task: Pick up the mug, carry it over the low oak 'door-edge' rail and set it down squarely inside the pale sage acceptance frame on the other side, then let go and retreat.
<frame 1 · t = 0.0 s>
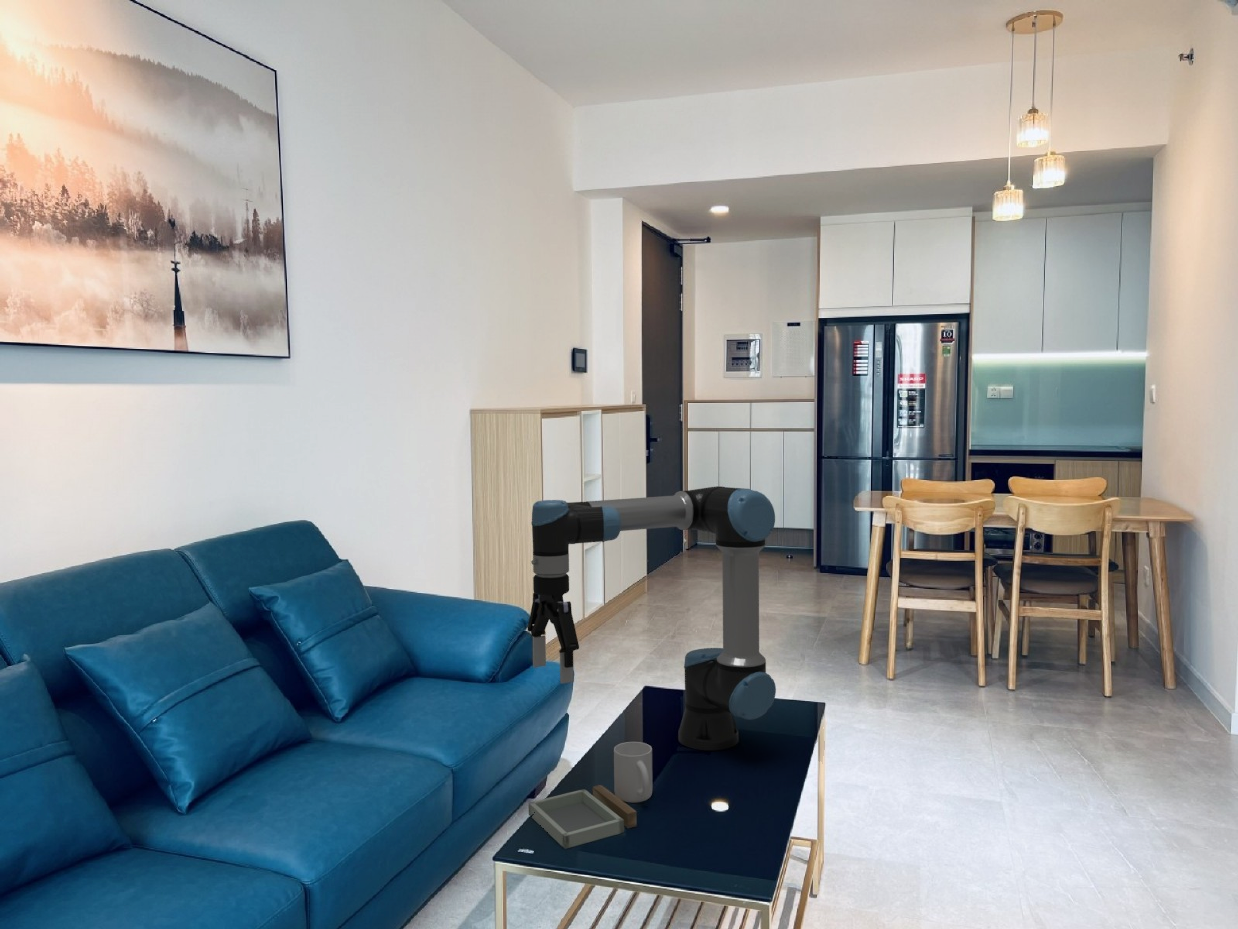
hand: (552, 674, 185), 28 cm above the table, fingers open, 13 cm apart
edge rail: (614, 813, 182), on the table
acceptance frame: (575, 823, 177), on the table
mug: (636, 799, 188), on the table
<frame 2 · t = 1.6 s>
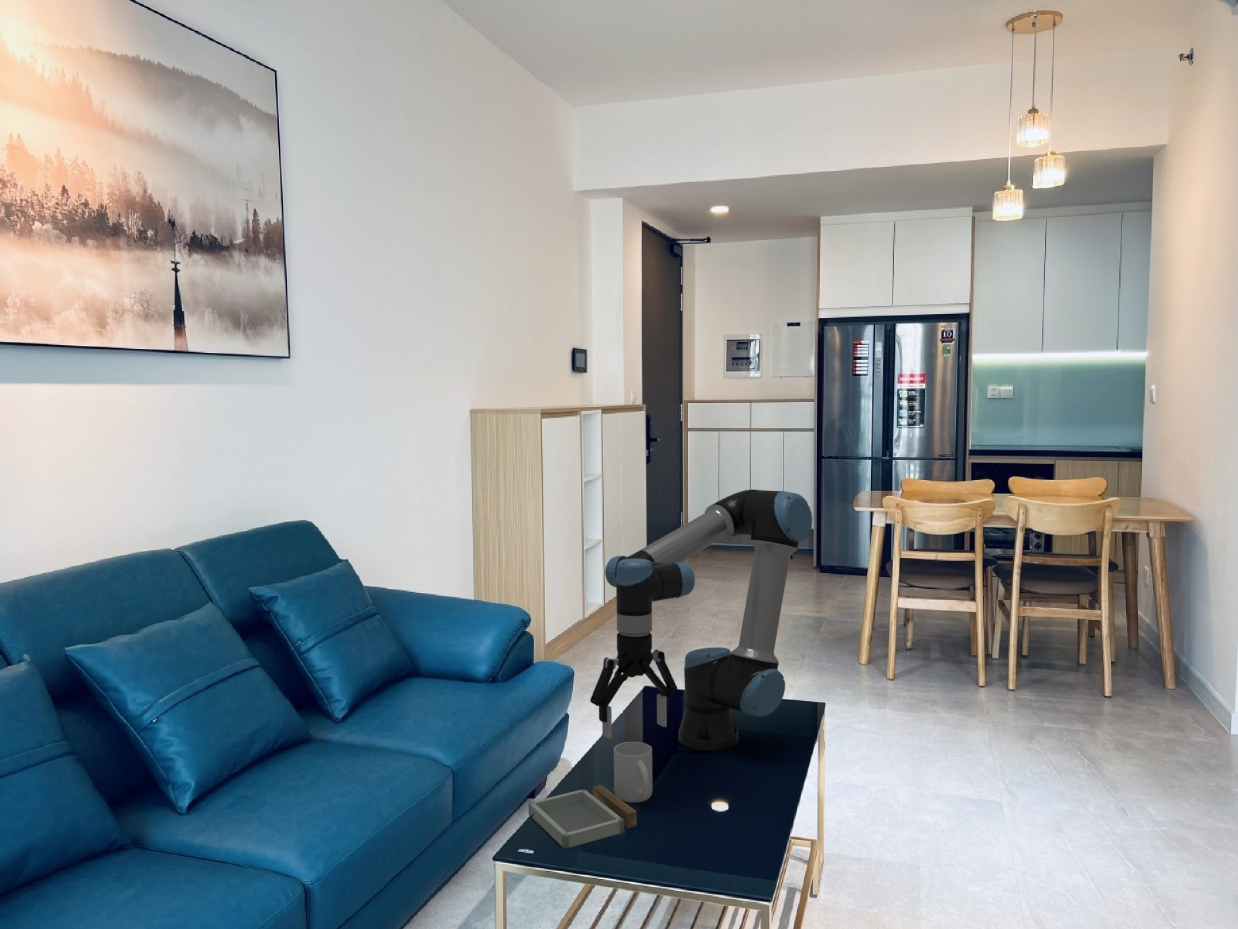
hand: (634, 730, 187), 15 cm above the table, fingers open, 13 cm apart
nothing on the table moved.
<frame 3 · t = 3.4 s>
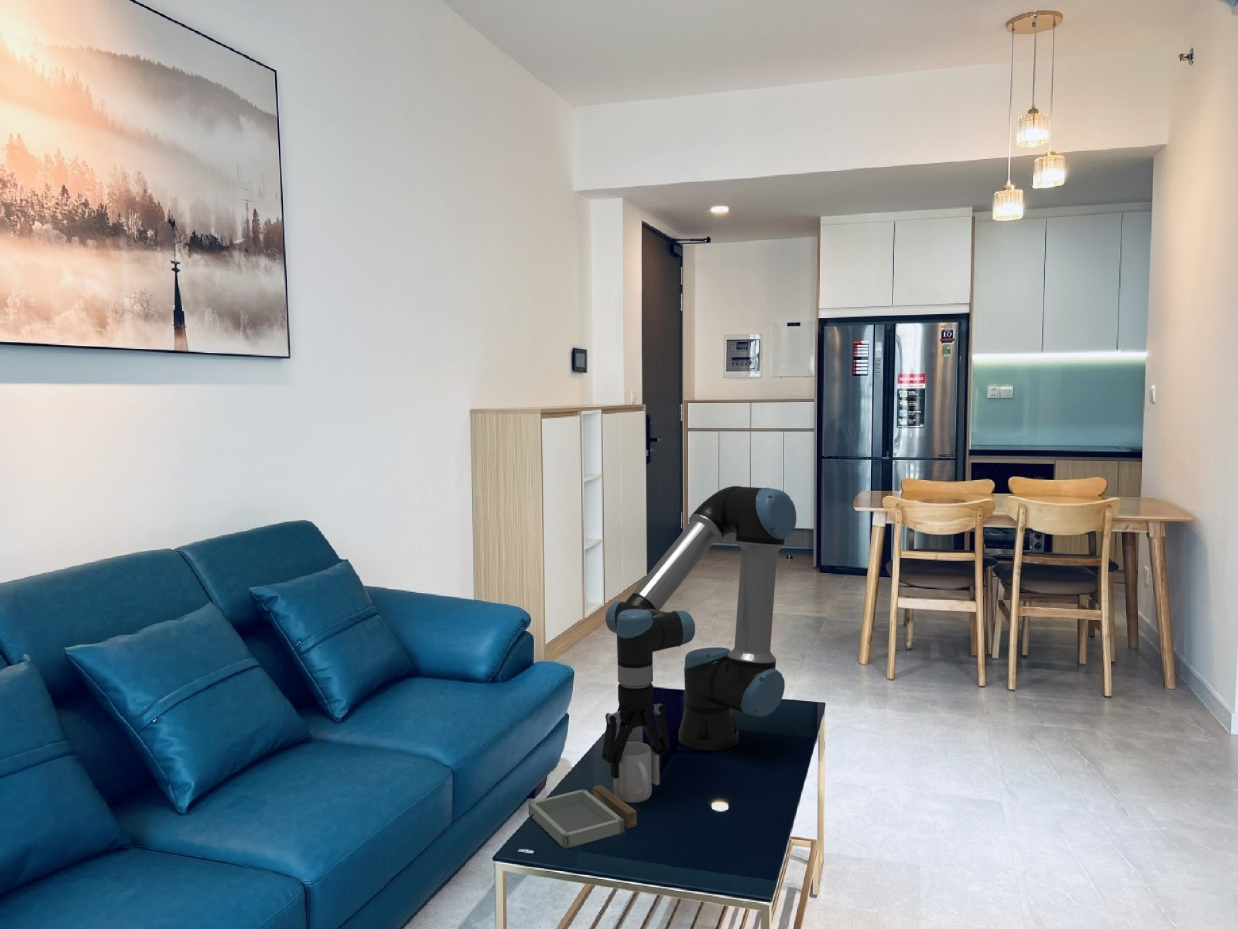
hand: (637, 787, 188), 2 cm above the table, fingers closed on mug, 8 cm apart
mug: (635, 799, 188), on the table, touching gripper
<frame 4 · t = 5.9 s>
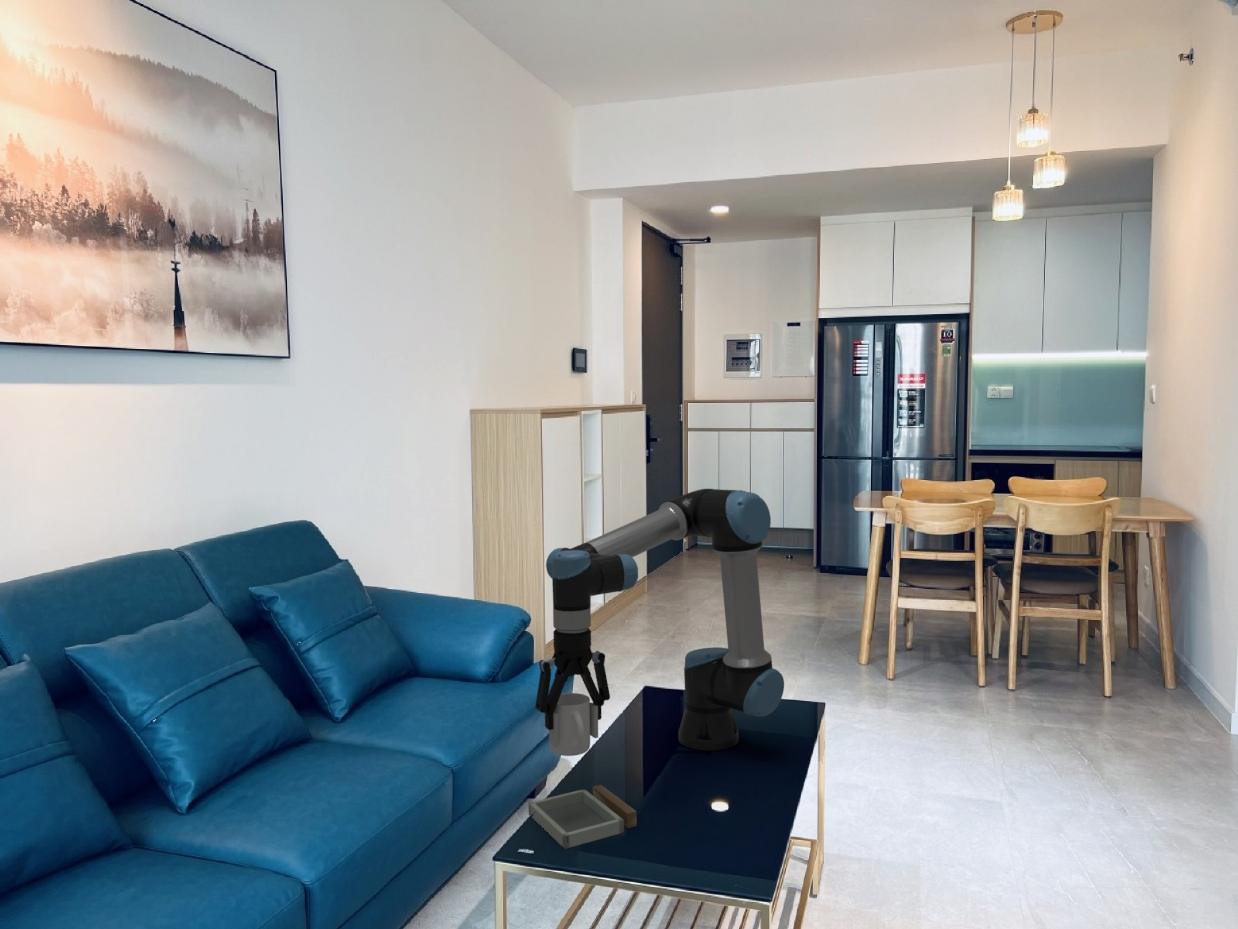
hand: (573, 740, 176), 17 cm above the table, fingers closed on mug, 8 cm apart
mug: (572, 753, 176), point 14 cm above the table, touching gripper
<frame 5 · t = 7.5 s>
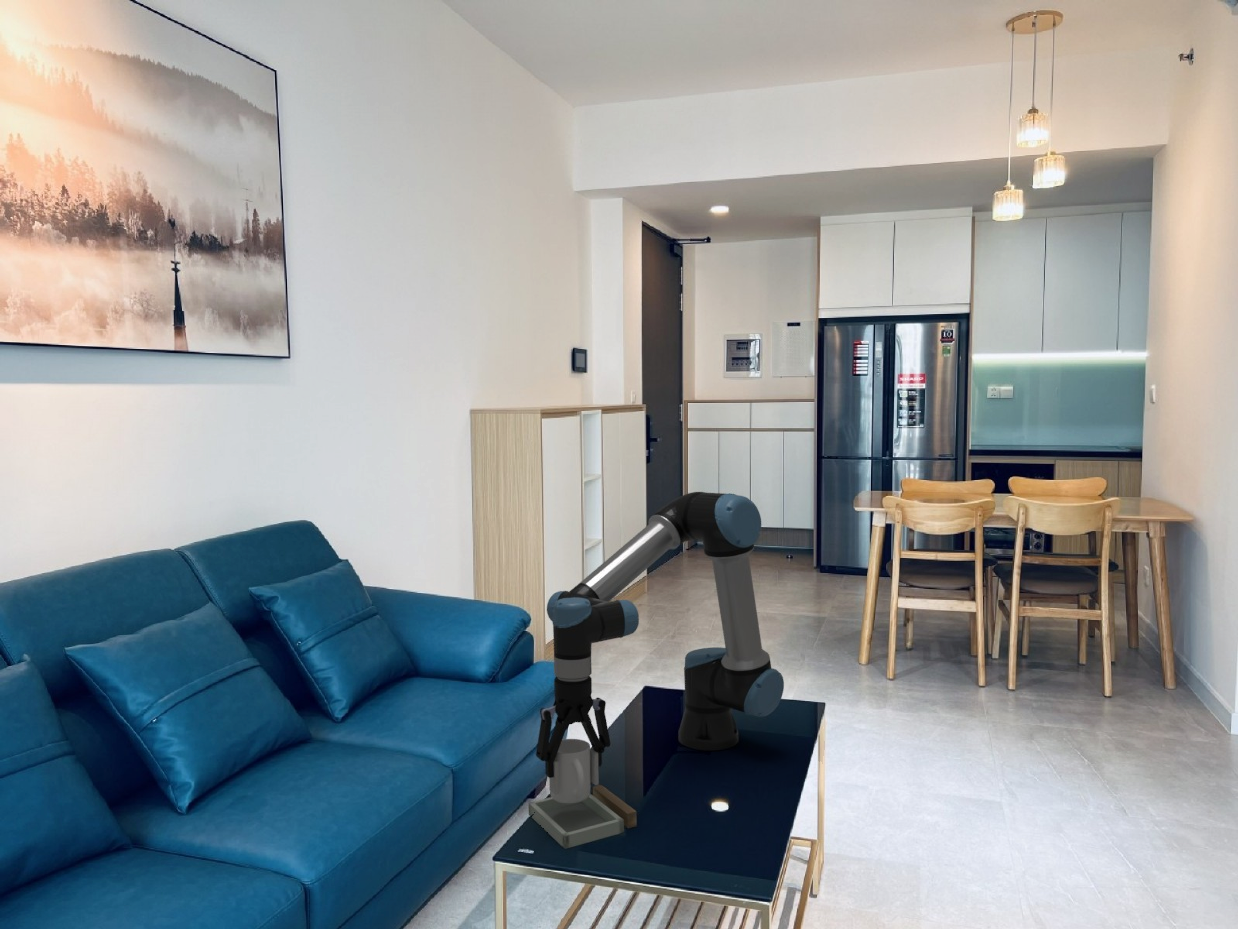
hand: (574, 787, 177), 7 cm above the table, fingers closed on mug, 8 cm apart
mug: (572, 800, 177), point 5 cm above the table, touching gripper
when the fingers open (4 cm above the table, at t = 8.6 s): mug drops 2 cm, resting on acceptance frame.
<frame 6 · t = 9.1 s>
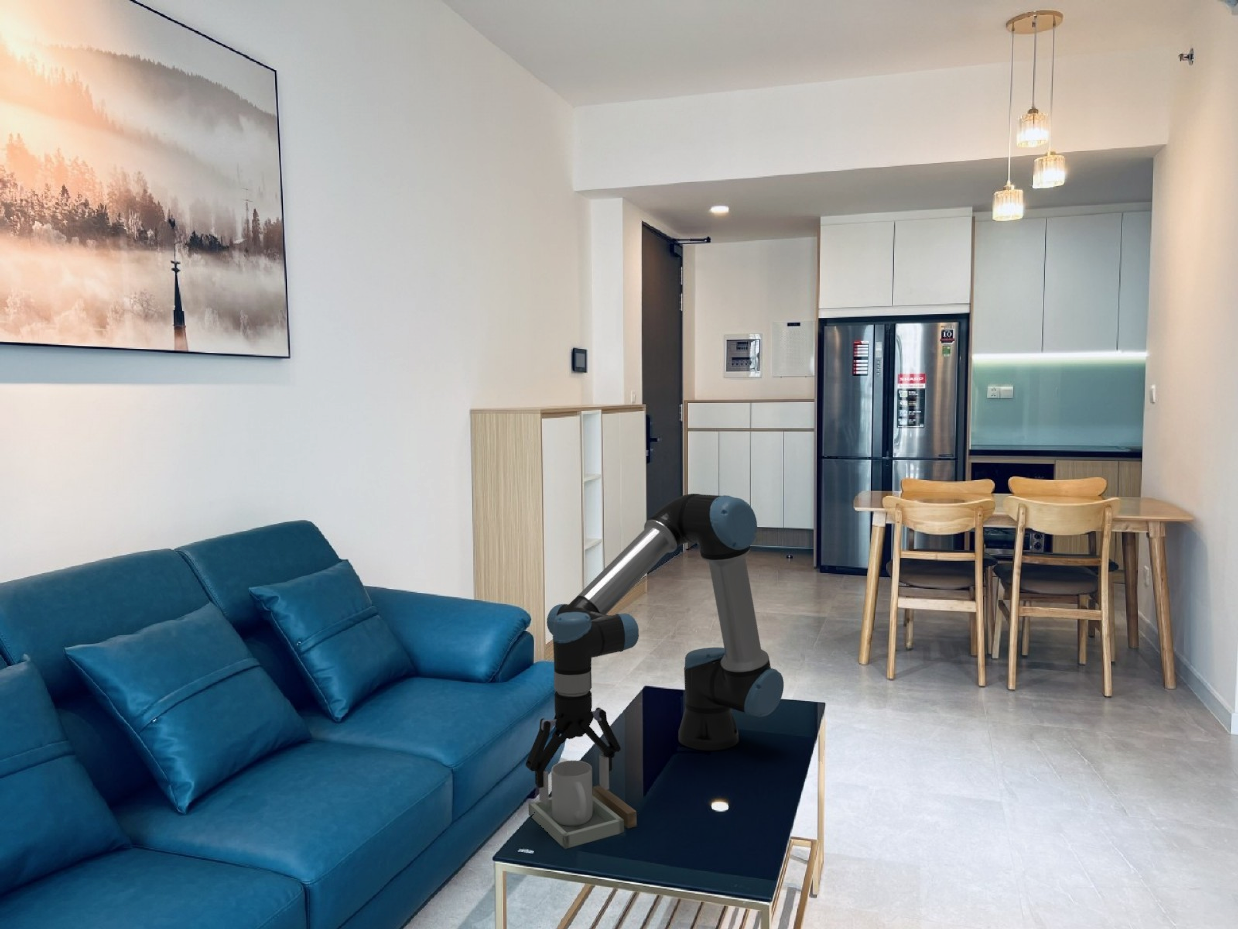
hand: (574, 794, 177), 6 cm above the table, fingers open, 13 cm apart
mug: (575, 822, 177), resting on acceptance frame
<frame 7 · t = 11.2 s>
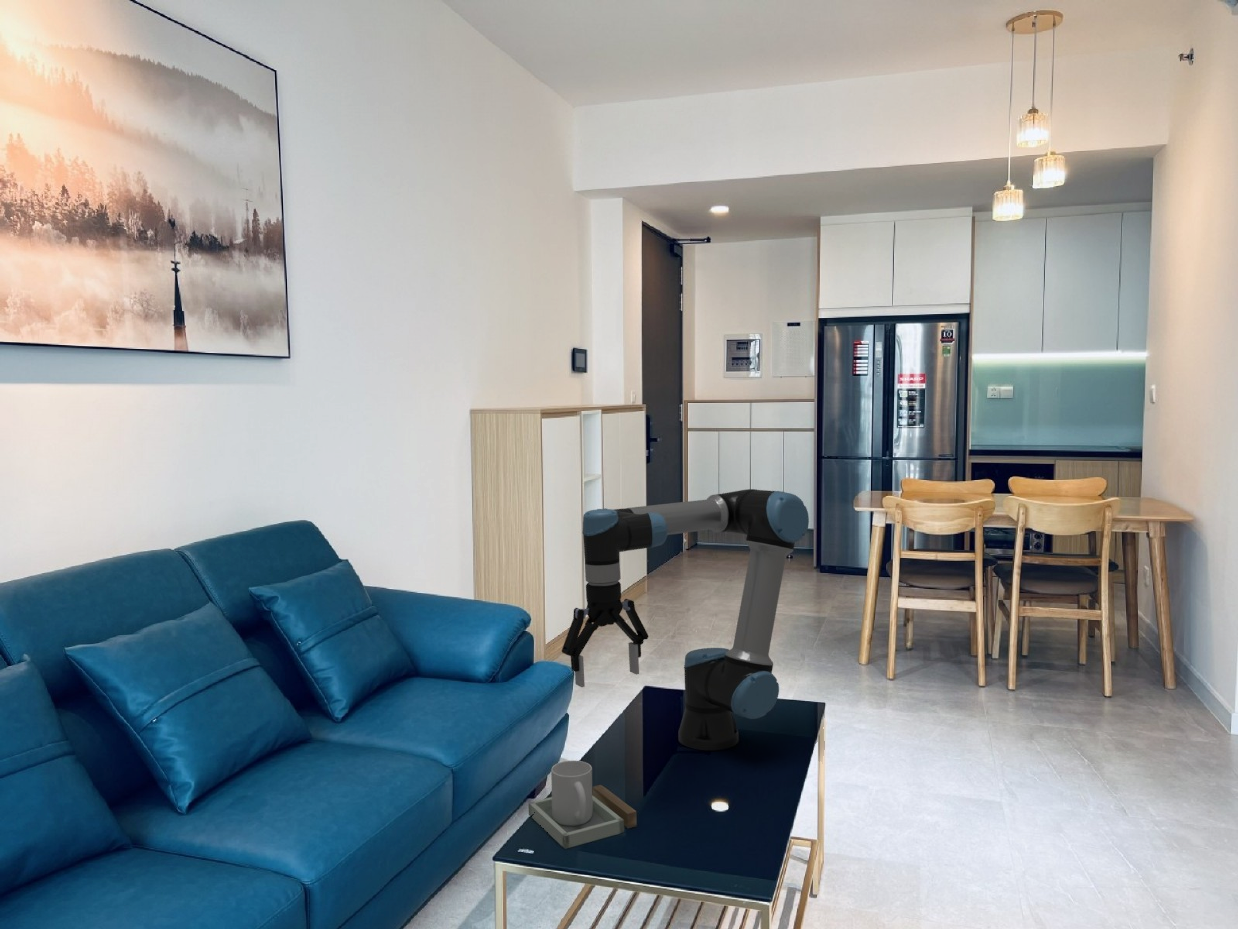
hand: (607, 679, 189), 25 cm above the table, fingers open, 13 cm apart
nothing on the table moved.
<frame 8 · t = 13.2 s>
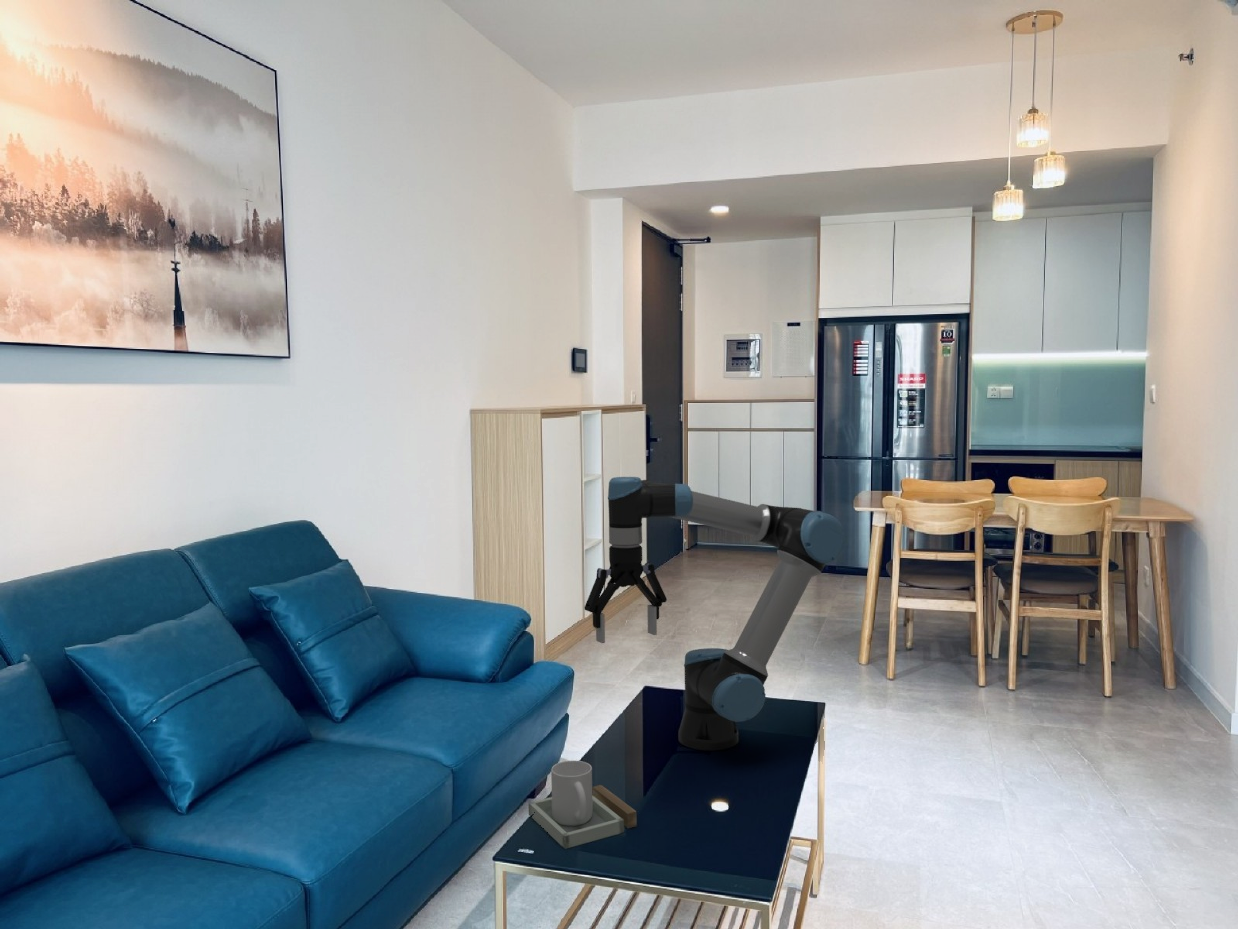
hand: (626, 638, 200), 32 cm above the table, fingers open, 13 cm apart
nothing on the table moved.
at the end: mug 0.1 cm off-centre on the acceptance frame, point 0.1 cm above the acceptance frame's base; mug tilted 0°; the gripper is holding nothing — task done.
